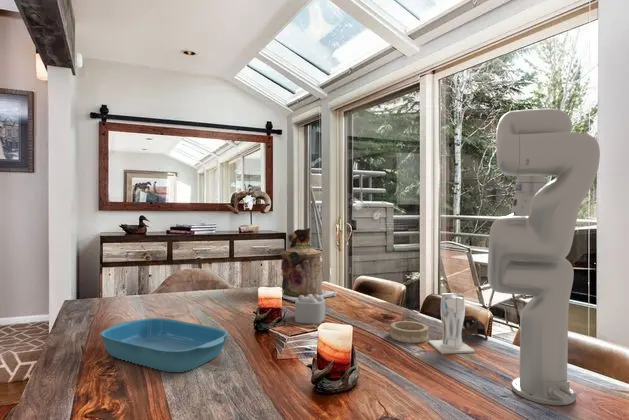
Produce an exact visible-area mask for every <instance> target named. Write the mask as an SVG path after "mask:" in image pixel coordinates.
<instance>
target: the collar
mask: <svg viewBox="0 0 629 420" xmlns="http://www.w3.org/2000/svg"><path fill="white" fill-rule="evenodd" d="M389 328H390V332H389V333H390V334H389V335H390V337H391V338H392V340H395V341H398V342H403V343H419V344H420V343H423V342H428V340H429V326H428V325H426V323H421V322H417V321H412V320H411V321H410V320H404V321H403V320H401V321H400V320H398V321H394V322H392V323H391V324H390V327H389Z"/></svg>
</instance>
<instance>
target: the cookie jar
mask: <svg viewBox="0 0 629 420" xmlns="http://www.w3.org/2000/svg"><path fill="white" fill-rule="evenodd" d="M310 232H311V227H307V228H305V229H304V228H303V229H302V228H298V229H296V230H295V229H294V232H293V233H290V234H288V242H290V243H291V244H290V245H289V247H288V248H287V249H286V250H285V251H284V252H283V253H282V254H281V257H282V259H281V265H280V267H281V268H280V270H281V274H282V283H281V288H282V290H281V291H282V292H283V298H282V299H284V300H288V301H290V302H293V303H294V302H295V301H296V300H297V299H298V297H299V296H300V295H303V296H304V297H306V296H307V295H308V294H312V295H313V296H315V295H316V294H318V295H319V296H322V297H323V298H324V299H325V298H330V297H336V296H337V293H338V291H332V290H324V289H322V285H323V270H322V269H323V268H322V265H321V264H322V263H321V256H322V253H323V252H322V251H321V250H319V249H318V250H317V249H315V248H314V247H312V246H311V245H310V244H309V243H310V240H311V236H310V235H311V233H310Z"/></svg>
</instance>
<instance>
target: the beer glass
mask: <svg viewBox="0 0 629 420" xmlns="http://www.w3.org/2000/svg"><path fill="white" fill-rule="evenodd" d="M465 301H466V300H465V296H464V294H460V293H454V292H453V293H452V292H451V293H448V292H446V293H442V294H441V298H440V317H441V318H440V319H441V324H442V339H441V340H442V345H443V346H444V347H447V348H453V349H458V348H462V347H463V343H464V342H463V336H462V328H464V325H463V323H464V317H465V315H466V303H465ZM462 342H463V343H462Z"/></svg>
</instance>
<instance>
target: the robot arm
mask: <svg viewBox="0 0 629 420" xmlns="http://www.w3.org/2000/svg"><path fill="white" fill-rule="evenodd" d="M572 129H573V122H572V118H571V117H570V115H569V114H568V113H567V112H565V111H564V110H561V109H558V108H549V107H548V108H546V107H545V108H535V109H533V108H532V109H521V110H511V111H508V112H506V113H505V114H503V115H502V116H501V117H500V119H499V121H498V124H497V127H496V133H495V134H496V135H495V139H496V141H495V143H496V145H495V146H496V164H497V168H498V170H499V171H500V172H501V174H503V175H504V176H508V177H516V184H514V185H513V186H512V189H513V190H514V191H515V193H514V195H513V200H512V204H511V213H510V214H509V215H506V216H500V217H497V218H496V219H495V220H494V221H493V222H492V224H491V227H490V230H489V236H488V237H489V238H488V253H487V281H488V285H489V287H490V289H492V290H493V291H494V292H496V293H500V294H507V295H517V296H518V295H519V296H529V297H531V296H532V298H531V299H530V300H529V301H528V302H527V303H526V304H525V305H524V306H523V308H522V309H521V312H520V319H519V321H520V323H519V326H520V327H519V377H517V378H515V379H514V380H513V381H512V382H511V388H512V390H513V392H514V393H516V394H517V395H518V396H519V397H522V398H524V399H526V400H529V401H531V402H535V403H539V404H542V405H548V406H549V405H550V406H567V405H570V404H573V403H574V402H575V401H576V398H577V394H576V393H575V392H574V390H572V389H571V386H570V383H571V382H570V381H569V380H568V349H569V348H568V347H569V346H568V344H569V343H568V341H569V335H568V334H569V311H570V310H569V309H570V308H569V307H570V300H571V299H570V298H571V293H572V288H573V283H574V277H575V276H574V273H575V271H574V267H573V264H572V263H571V262H570V261H569V260H568V259H567V256H568V255H569V254H570V252H571V249H572V245H573V241H574V236H575V230H576V226H577V222H578V221H577V220H578V214H579V211H580V207H581V205H582V203H583V202H584V200H585V198H586V197H587V195H588V193H589V192H590V190H591V188H592V186H593V183H594V182H595V179H596V177H597V174H598V170H599V165H600V158H601V153H600V152H601V150H600V145H599V142H598V140H597V139H596V138H595V137H593V135H590V134H587V133H584V132H574V131H572ZM546 176H550V177H551V176H555V177H554V178H553V179H552V180H550V181H548V183H546V182H547V181H546V178H547V177H546Z"/></svg>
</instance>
